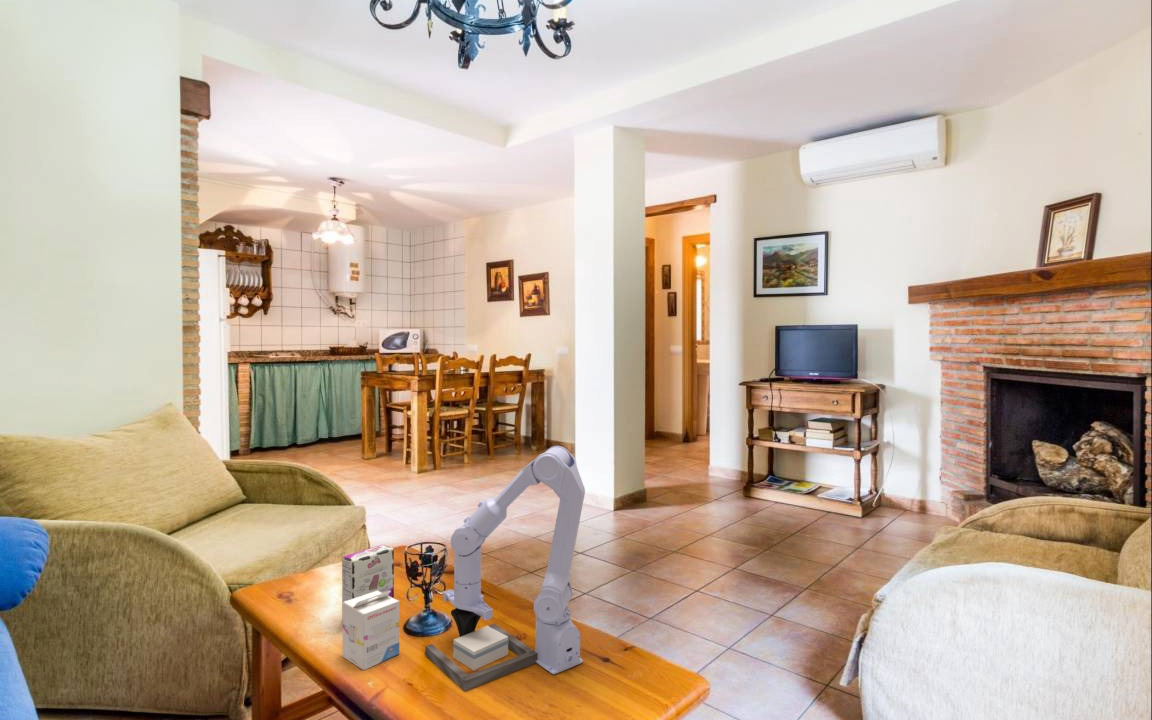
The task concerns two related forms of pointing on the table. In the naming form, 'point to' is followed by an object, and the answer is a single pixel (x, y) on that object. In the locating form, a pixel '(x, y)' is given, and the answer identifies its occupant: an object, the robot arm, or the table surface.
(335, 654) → the table surface
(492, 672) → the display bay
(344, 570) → the candy bar box
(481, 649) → the carton
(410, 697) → the table surface
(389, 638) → the ink box
